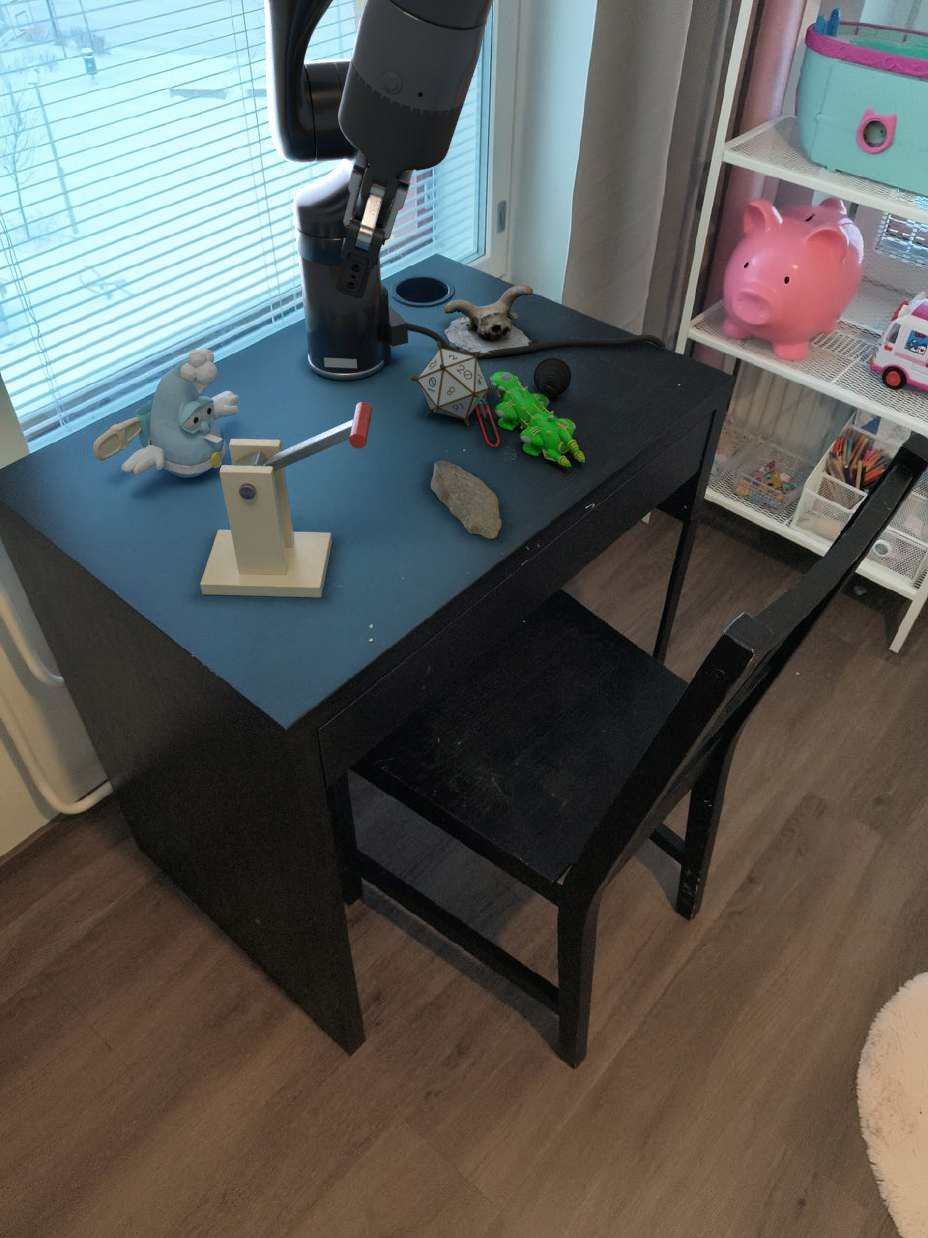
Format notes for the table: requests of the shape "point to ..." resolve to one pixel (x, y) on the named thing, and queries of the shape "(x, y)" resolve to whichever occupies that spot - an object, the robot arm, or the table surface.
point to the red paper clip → (484, 410)
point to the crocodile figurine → (534, 420)
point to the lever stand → (263, 535)
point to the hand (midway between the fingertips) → (349, 288)
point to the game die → (453, 383)
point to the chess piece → (552, 376)
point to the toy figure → (175, 423)
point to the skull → (486, 324)
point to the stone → (467, 499)
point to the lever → (317, 442)
